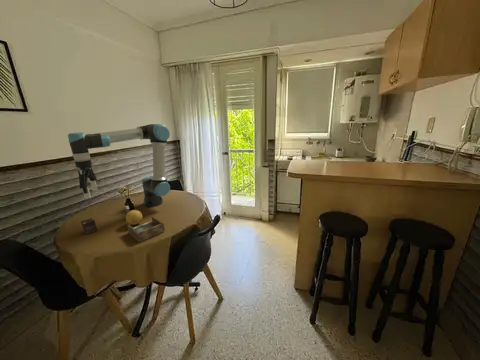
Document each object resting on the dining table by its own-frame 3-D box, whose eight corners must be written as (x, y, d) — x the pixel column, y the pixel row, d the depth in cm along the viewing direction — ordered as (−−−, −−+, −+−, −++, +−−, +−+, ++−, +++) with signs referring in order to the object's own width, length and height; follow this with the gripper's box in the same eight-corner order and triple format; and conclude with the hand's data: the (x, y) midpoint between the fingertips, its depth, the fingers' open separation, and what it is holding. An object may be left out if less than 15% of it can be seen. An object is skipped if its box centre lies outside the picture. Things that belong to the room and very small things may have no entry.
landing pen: (153, 223, 138) (152, 215, 136) (164, 231, 127) (163, 223, 125) (128, 232, 127) (127, 224, 125) (138, 242, 116) (137, 234, 114)
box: (94, 227, 134) (91, 217, 131) (97, 230, 130) (94, 220, 128) (83, 231, 129) (80, 221, 127) (86, 234, 125) (83, 224, 123)
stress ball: (125, 227, 134) (127, 223, 127) (124, 213, 138) (126, 208, 131) (142, 225, 140) (144, 221, 133) (140, 212, 144) (142, 207, 136)
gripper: (82, 157, 127) (91, 188, 133) (65, 165, 104) (76, 202, 111) (96, 155, 129) (104, 187, 136) (82, 163, 107) (92, 200, 113)
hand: (91, 194), depth 123 cm, fingers open, 13 cm apart
